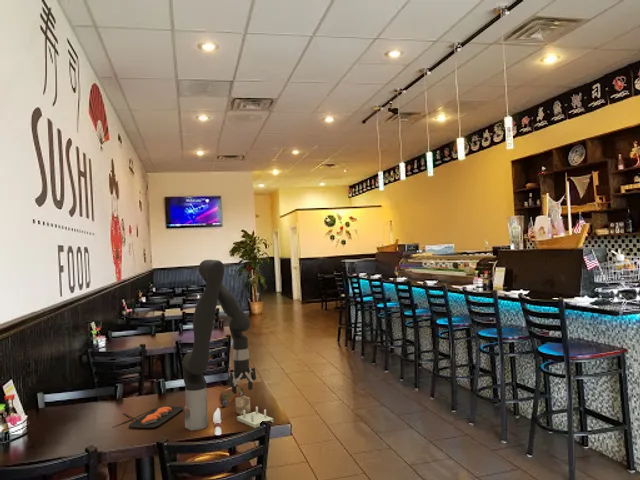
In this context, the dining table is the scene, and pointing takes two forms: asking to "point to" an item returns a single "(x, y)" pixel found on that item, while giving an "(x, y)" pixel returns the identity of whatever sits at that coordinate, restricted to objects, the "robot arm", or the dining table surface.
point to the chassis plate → (254, 418)
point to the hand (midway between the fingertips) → (242, 391)
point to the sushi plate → (153, 417)
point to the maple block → (242, 404)
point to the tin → (230, 396)
